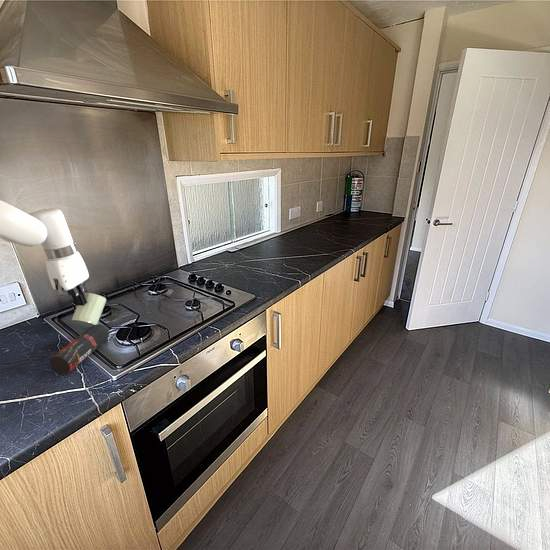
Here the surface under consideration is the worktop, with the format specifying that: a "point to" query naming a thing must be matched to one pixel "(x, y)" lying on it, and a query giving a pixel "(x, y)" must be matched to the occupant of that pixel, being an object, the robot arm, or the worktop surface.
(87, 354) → the deodorant
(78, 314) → the cup
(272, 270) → the worktop surface
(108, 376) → the worktop surface
